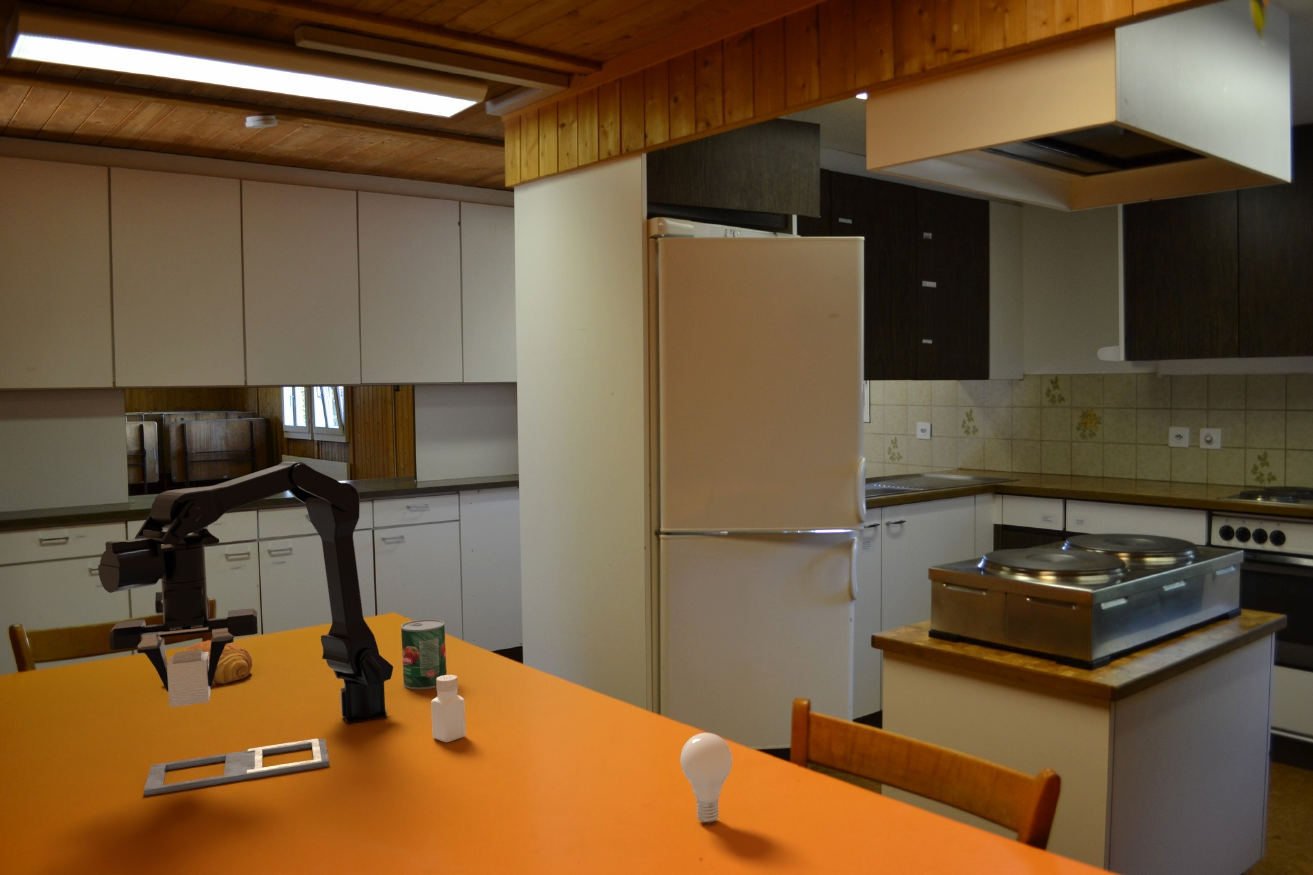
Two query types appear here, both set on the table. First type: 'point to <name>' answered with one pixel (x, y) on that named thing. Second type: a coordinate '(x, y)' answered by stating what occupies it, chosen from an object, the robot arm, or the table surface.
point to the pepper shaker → (448, 710)
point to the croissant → (228, 662)
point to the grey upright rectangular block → (188, 678)
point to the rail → (238, 766)
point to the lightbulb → (706, 771)
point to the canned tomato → (423, 653)
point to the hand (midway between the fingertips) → (189, 688)
